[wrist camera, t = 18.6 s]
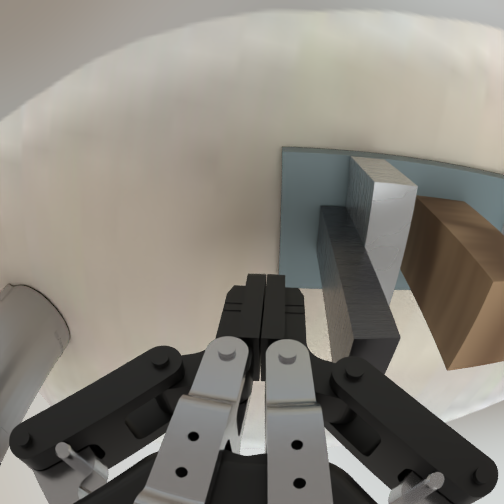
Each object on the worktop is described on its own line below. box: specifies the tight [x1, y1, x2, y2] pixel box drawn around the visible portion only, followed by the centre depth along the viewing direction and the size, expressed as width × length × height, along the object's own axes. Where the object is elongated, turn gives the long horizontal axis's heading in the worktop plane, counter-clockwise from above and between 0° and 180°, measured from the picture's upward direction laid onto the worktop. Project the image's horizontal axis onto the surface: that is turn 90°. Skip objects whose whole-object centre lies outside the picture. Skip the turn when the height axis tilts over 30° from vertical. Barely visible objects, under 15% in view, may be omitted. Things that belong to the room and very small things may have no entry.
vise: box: [279, 147, 504, 290], centre depth 16 cm, size 20×9×6 cm, turn 91°
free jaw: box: [316, 156, 418, 374], centre depth 13 cm, size 4×9×10 cm, turn 1°
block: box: [400, 195, 504, 371], centre depth 13 cm, size 4×5×9 cm
